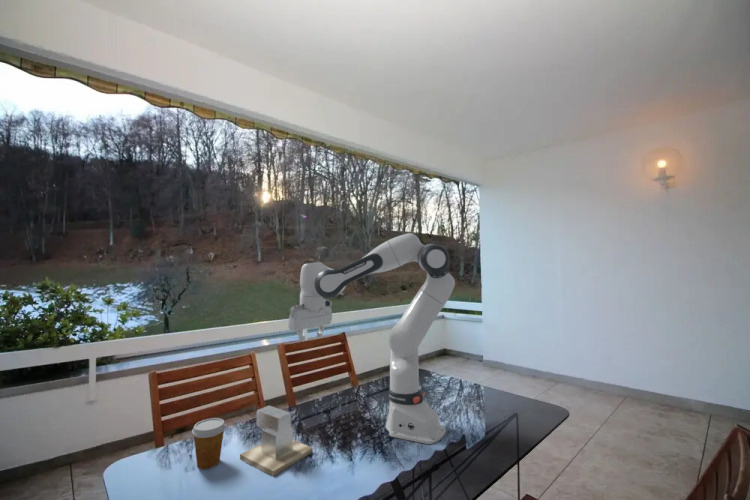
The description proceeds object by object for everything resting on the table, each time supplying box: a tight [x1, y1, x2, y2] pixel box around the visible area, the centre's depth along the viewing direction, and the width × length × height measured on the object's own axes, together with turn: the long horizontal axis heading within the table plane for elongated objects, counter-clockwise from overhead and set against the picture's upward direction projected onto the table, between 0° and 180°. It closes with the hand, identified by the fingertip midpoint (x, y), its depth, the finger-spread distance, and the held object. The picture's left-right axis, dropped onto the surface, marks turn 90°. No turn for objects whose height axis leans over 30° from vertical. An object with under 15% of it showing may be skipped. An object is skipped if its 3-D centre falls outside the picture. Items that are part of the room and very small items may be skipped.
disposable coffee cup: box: [191, 417, 227, 470], centre depth 108 cm, size 10×10×12 cm
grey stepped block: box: [256, 405, 294, 459], centre depth 114 cm, size 11×7×12 cm, turn 55°
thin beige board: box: [239, 439, 313, 477], centre depth 112 cm, size 16×16×6 cm
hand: (310, 339), depth 135 cm, fingers open, 8 cm apart
